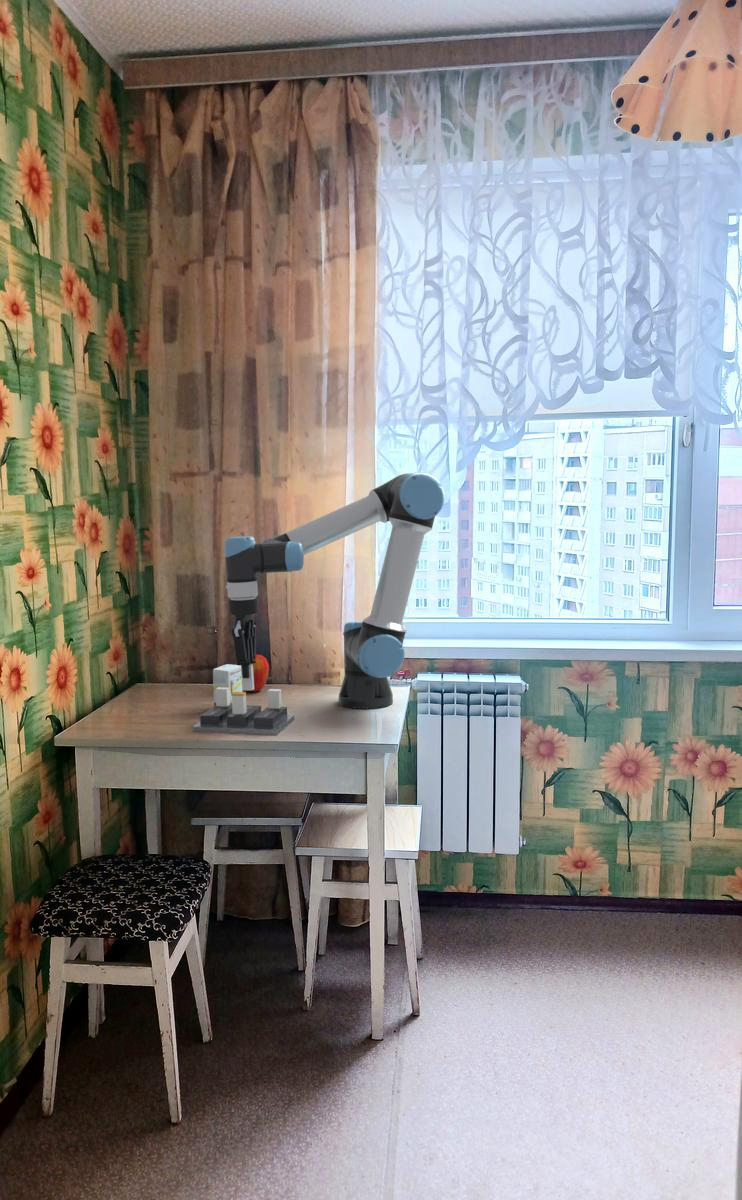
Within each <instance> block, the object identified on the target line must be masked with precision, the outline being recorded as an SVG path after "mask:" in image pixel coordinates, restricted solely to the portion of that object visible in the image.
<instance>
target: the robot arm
mask: <svg viewBox="0 0 742 1200" xmlns="http://www.w3.org/2000/svg"><path fill="white" fill-rule="evenodd" d="M444 490H445V489H444V487H443V486H442V484H441V482H440V481H439V479H438V478H436V477H435V476H433V475H431V474H429V473H425V472H419V471H417V472H412V473H410V472H409V473H403V474H402V473H401V474H398V475H397V476H395V477H393V478H392V479H390V480H389V481H386V482H385V483H383V484H381V485H380V486H377V487H375V488H373V489H371V490H370V491H369V493H368V495H367V496H364V497H362V498H361V499H357V500H356V501H354V502H351V503H349V504H346V505H344V506H342V507H340V508H338V509H336V510H333V511H331V512H329V513H326V514H324V515H322V516H320V517H317V518H315V519H313V520H311V521H309V522H306V523H305V524H304V523H303V524H302V525H300V526H297V527H296V528H293V529H290V530H289V531H287V532H285V533H283V534H280V535H277V536H275V537H273V538H267V539H266V540H264V541H262V542H261V543H257V542H256V539H255V538H254V536H251V535H250V536H249V535H245V536H244V535H243V536H241V535H240V536H231V537H228V538H226V539H225V541H224V552H225V553H224V562H225V573H226V574H225V575H226V585H225V589H227V598H229V599H228V601H227V606H228V607H227V608H228V614H229V615H232V616H235V617H234V618H235V620H234V628H231V635H232V639H233V643H234V644H233V645H234V650H235V658H236V665H241V676H242V691H247V690H254V675H253V664H252V663H256V661H254V660H255V659H256V654H257V627H258V623H257V621H255V620H254V617H253V616H254V615H255V614H257V613H259V611H260V609H259V599H258V598H257V597H258V595H259V593H258V592H259V591H258V578H257V575H258V574H264V573H265V574H268V573H287V572H288V573H292V572H297V571H298V572H299V571H301V570H302V569H303V568H304V562H305V559H304V556H305V555H308V554H310V553H312V552H314V551H316V550H319V549H320V548H323V547H325V546H327V545H330V544H332V543H334V542H336V541H339V540H341V539H343V538H345V537H348V536H350V535H351V534H354V533H356V532H358V531H361V530H364V529H365V528H367V527H369V526H372V525H374V524H377V523H378V522H382V523H387V522H390V524H391V526H392V527H391V532H390V536H389V540H388V543H387V547H386V552H385V555H384V559H383V563H382V568H381V572H380V575H379V580H378V582H377V583H378V584H377V587H376V590H375V595H374V600H373V603H372V607H371V611H370V614H369V615H368V616H367V617H365V618H364V619H362V620H360V621H348V622H346V623H344V625H343V633H342V635H343V651H344V652H343V655H344V656H343V658H344V659H343V660H344V661H343V662H344V664H343V665H344V675H343V676H344V677H343V680H342V683H341V687H340V689H339V692H338V704H339V705H340V706H342V707H346V708H352V709H378V708H385V707H388V706H391V705H392V704H393V702H394V701H393V700H394V697H393V691H392V688H391V685H390V683H389V679H388V677H390V676H393V675H394V674H396V673H397V672H398V671H399V670H400V669H401V667H402V666H403V663H404V661H405V648H404V646H403V644H404V640H405V635H406V628H405V626H404V625H403V620H404V616H405V612H406V609H407V604H408V601H409V597H410V593H411V589H412V585H413V581H414V577H415V573H416V569H417V566H418V562H419V557H420V553H421V549H422V546H423V543H424V542H423V541H424V538H425V535H426V534H427V533H429V532H430V531H431V530H433V528H434V527H433V526H434V522H435V517H436V516H437V515H438V514H439V513H440V512H441V510H442V509H443V506H444V505H445V501H446V500H445V499H446V498H445V496H446V495H445V491H444Z"/></svg>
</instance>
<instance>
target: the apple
mask: <svg viewBox="0 0 742 1200" xmlns="http://www.w3.org/2000/svg"><path fill="white" fill-rule="evenodd" d="M254 661H256V663H252V664H253V675H254V690H246V691H248V692H259V691H261V690H262V689H263V688H264V687H265V685H266V683H267V680H268V677H269V669H270V665H269V662H268V660H267V658H266V657H265V656H263V654H257V653H256V659H255V660H254Z"/></svg>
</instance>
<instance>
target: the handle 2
mask: <svg viewBox="0 0 742 1200" xmlns="http://www.w3.org/2000/svg"><path fill="white" fill-rule="evenodd" d="M282 705H283V704H282V689H280V688H269V689H267V707H268V708H280V707H283V706H282Z"/></svg>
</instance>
